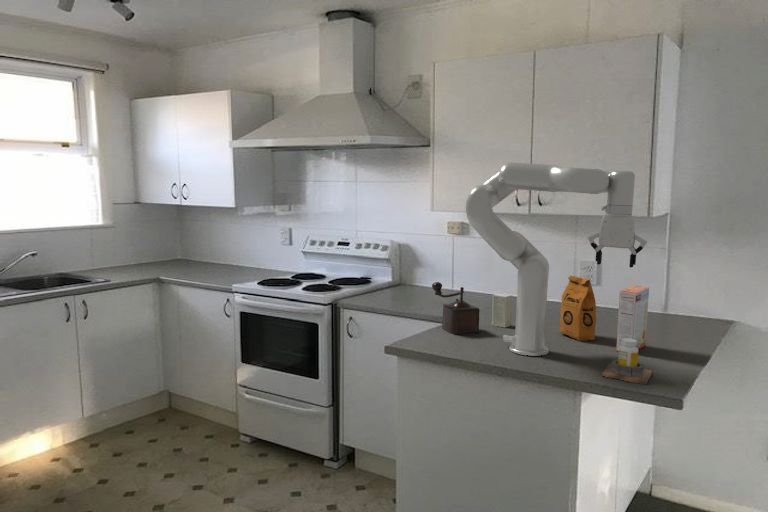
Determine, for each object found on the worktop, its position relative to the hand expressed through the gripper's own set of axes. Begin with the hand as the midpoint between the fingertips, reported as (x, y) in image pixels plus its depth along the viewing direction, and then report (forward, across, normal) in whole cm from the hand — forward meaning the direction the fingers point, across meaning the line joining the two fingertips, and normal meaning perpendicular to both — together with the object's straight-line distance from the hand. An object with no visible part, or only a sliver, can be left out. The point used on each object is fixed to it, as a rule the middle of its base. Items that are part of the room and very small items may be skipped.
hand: (615, 265), depth 194 cm
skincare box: (+31, -44, +23) cm, 58 cm away
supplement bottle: (+30, +8, -14) cm, 34 cm away
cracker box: (+31, +4, +18) cm, 36 cm away
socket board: (+30, +8, -14) cm, 34 cm away
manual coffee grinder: (+31, -56, +4) cm, 64 cm away
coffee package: (+31, -15, +23) cm, 41 cm away
